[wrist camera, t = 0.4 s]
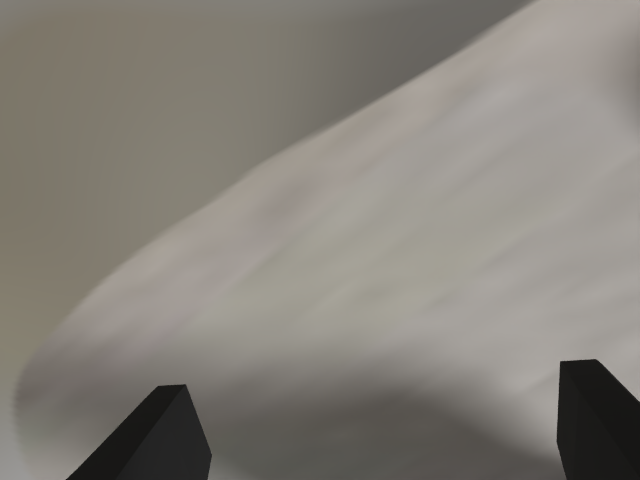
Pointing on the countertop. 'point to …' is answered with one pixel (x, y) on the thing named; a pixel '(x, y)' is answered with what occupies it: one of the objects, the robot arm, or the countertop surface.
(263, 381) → the countertop surface
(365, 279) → the countertop surface
